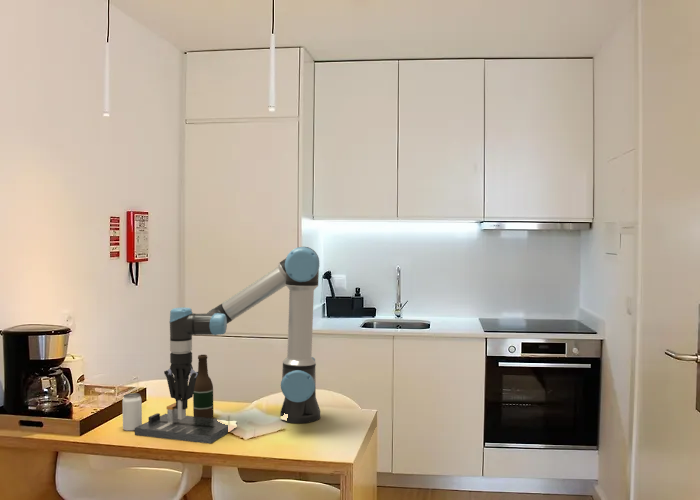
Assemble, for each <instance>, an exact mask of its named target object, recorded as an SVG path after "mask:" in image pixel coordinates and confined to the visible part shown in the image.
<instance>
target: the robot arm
mask: <svg viewBox="0 0 700 500" xmlns="http://www.w3.org/2000/svg"><path fill="white" fill-rule="evenodd" d="M319 269H320V258H319V255H318V254H317V252H316V251H315V250H314V249H313V248H311V247H309V246H298V247H295V248H293V249H292V250H290V252H289V253H287V255H286V257H285V258H284V259H282V260H281V261H280V262H279V263H278V265H277V267H275V268H274V269H272V270H270V272H268V273H267V274H264V275H263V276H261V277H260V278H259V279H257V280H255V281H254V282H253V283H251V284H249V285H248V286H246V287H245V288H243V289H242V290H240V291H239V292H237V293H236V294H234V295H232V296H231V297H229V298H228V299H226V300H225V301H223V302H222V303H221V304H218V305H217V306H216V307H213V308H211V310H209V311H208V312H207V313H193V310H192V307H185V306H184V307H174V308H171V310H170V313H169V335H170V336H169V351H170V354H169V358H170V361H169V363H170V366H169V369H167V370H164V376H165V378H166V380H167V385H168V386H167V387H168V390H169V394H170V398H172V399H174V400H175V403H176V409H178V419H183V418H185V417H186V416H187V412H186V411H187V409H188V407H189V406H188V401H189V399H191V398H192V399H193V392H194V387H195V382H196V378H197V376H198V375H199V372H198V371H195V370H194V369H193V365H192V364H193V352H192V351H193V336H196V335H197V336H198V335H199V336H200V335H201V336H202V335H203V336H207V335H208V336H218V335H220V336H221V335H225V334H226V332H227V329H228V328H227V327H228V324H230V323H231V322H232V321H234V320H235V319H236V318H238V317H239V316H241V315H243V314H244V313H246V312H247V311H249V310H251V309H252V308H254V307H255V306H257V305H258V304H260V303H261V302H263V301H265V300H266V299H268V298H269V297H271V296H272V295H274V294H275V293H277V292H278V291H280V290H282V289H283V288H285V287H287V289H288V290H289V294H288V295H289V296H288V297H289V298H288V321H287V322H288V325H287V328H288V329H287V353H286V354H287V356H286V358H285V359H284V360H283V361H282V373H281V374H282V377H281V381H280V390H281V392H282V394H283V396H284V399H283V402H282V405H281V410H280V414H279V415H280V416H283V415H284V413H285V414H288V418H287V422H286V423H291V424H307V423H312V422H316V421H318V420H319V419H320V418H321V409H320V406H319V402H318V400H317V395H316V385H317V384H316V378H317V377H316V376H317V375H316V367H317V362H316V358H315V357H313V356H312V353H313V352H312V351H313V345H312V344H313V324H314V323H313V319H314V297H315V296H314V295H315V290H316V288H317V287H319V278H320V277H319V276H320V275H319V274H320V273H319V272H320V271H319ZM189 376H190V377H189Z"/></svg>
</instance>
